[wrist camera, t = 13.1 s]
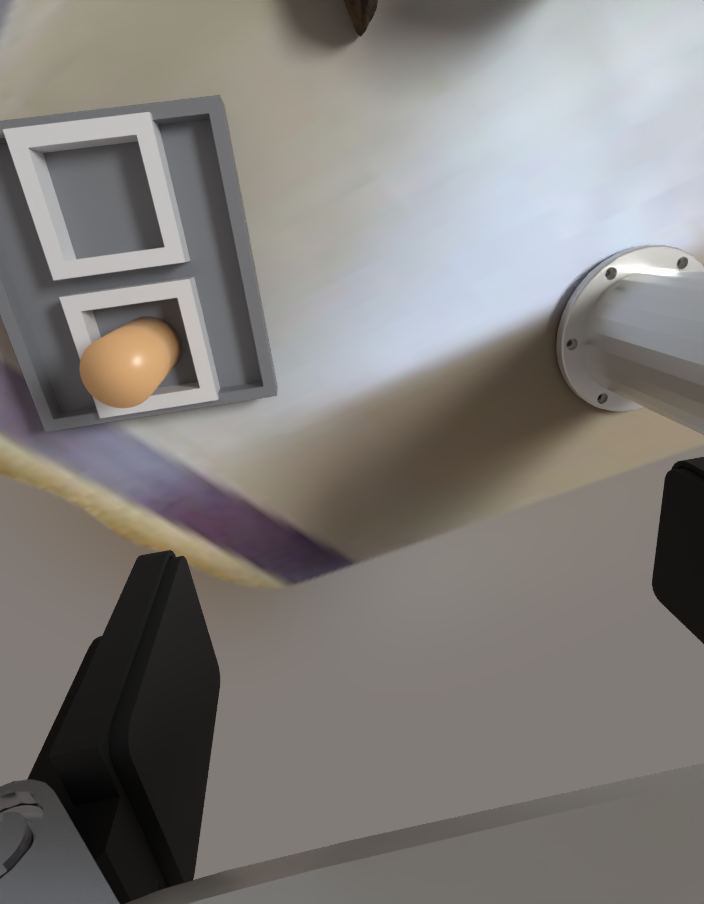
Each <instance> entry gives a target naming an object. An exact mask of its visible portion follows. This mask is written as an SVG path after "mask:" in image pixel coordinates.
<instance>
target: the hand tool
mask: <svg viewBox="0 0 704 904" xmlns="http://www.w3.org/2000/svg"><path fill="white" fill-rule="evenodd" d="M344 1H345V4H346V7H347V9H348V12H349V14H350V16H351V19H352V22H353V25H354V27H355V29H356V31H357V33H358V35H359V36H360V37H361V36H362V35H363V33H364V32H365V31H366V29H367V27H368V24H369V22H370V21H371V19H372V18H373V16H374V13H375V11H376V8H377V2H378V0H344Z"/></svg>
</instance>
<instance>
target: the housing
mask: <svg viewBox="0 0 704 904" xmlns="http://www.w3.org/2000/svg"><path fill="white" fill-rule="evenodd" d="M0 316H1V318H2V321H3V324H4V326H5V329H6V331H7V334H8V337H9V339H10V342H11V344H12V347H13V350H14V352H15V355H16V357H17V360H18V363H19V365H20V368H21V370H22V373H23V376H24V378H25V381H26V383H27V386H28V389H29V391H30V394H31V396H32V399H33V402H34V404H35V407H36V409H37V412H38V415H39V417H40V420H41V422H42V425H43V428H44V430H45V432H50V431H56V430H63V429H69V428H75V427H82V426H88V425H94V424H101V423H107V422H113V421H120V420H126V419H133V418H139V417H145V416H152V415H158V414H164V413H171V412H177V411H183V410H190V409H196V408H202V407H209V406H215V405H221V404H228V403H234V402H240V401H247V400H253V399H259V398H266V397H272V396H277V382H276V377H275V372H274V366H273V361H272V356H271V350H270V345H269V340H268V335H267V329H266V324H265V319H264V313H263V308H262V303H261V297H260V292H259V287H258V282H257V276H256V271H255V266H254V260H253V255H252V250H251V244H250V239H249V234H248V229H247V223H246V218H245V213H244V207H243V202H242V197H241V192H240V186H239V181H238V176H237V170H236V165H235V160H234V154H233V149H232V144H231V139H230V133H229V128H228V123H227V117H226V112H225V107H224V104H223V101H222V99H221V97H220V95H216V96H207V97H199V98H191V99H182V100H174V101H165V102H157V103H148V104H140V105H131V106H123V107H114V108H106V109H97V110H89V111H80V112H72V113H63V114H55V115H47V116H38V117H30V118H21V119H13V120H4V121H0ZM142 316H154V317H158V318H160V319H163V320H165V321H166V322H168V323H169V324H170V325H171V326H172V327H173V328H174V329H175V330H176V332H177V333H178V335H179V337H180V340H181V344H182V353H181V357H180V359H179V361H178V363H177V364H176V365H175V367H174V368H173V369H172V370H171V371H170V373H169V374H168V375H167V376H166V377H165V379H164V380H163V381H162V382H161V384H160V385H159V386H158V387H157V388H156V390H155V391H154V392H153V393H152V394H151V396H150V397H149V398H148V399H147V400H146V401H144V402H143V403H141V404H140V405H137V406H135V407H131V408H115V407H111V406H108V405H105V404H103V403H101V402H100V401H98V400H97V399H95V398H94V397H93V396H92V395H91V394H90V393H89V392H88V390H87V389H86V388H85V386H84V384H83V382H82V379H81V376H80V370H79V368H80V360H81V357H82V354H83V352H84V351H85V349H86V348H87V347H88V346H89V345H90V344H91V343H93V342H94V341H96V340H98V339H100V338H102V337H103V336H105V335H107V334H109V333H111V332H112V331H114V330H116V329H118V328H120V327H121V326H123V325H125V324H127V323H129V322H130V321H132V320H134V319H136V318H138V317H142Z"/></svg>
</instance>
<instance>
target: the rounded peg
mask: <svg viewBox="0 0 704 904" xmlns="http://www.w3.org/2000/svg"><path fill="white" fill-rule="evenodd" d="M181 353H182V344H181V340H180V337H179V335H178V333H177V332H176V330H175V329H174V328H173V327H172V326H171V325H170V324H169V323H168V322H166V321H165V320H163V319H160V318H158V317H154V316H142V317H138V318H136V319H134V320H132V321H130V322H129V323H127V324H125V325H123V326H121V327H120V328H118V329H116V330H114V331H112V332H111V333H109V334H107V335H105V336H103V337H102V338H100V339H98V340H96V341H94V342H93V343H91V344H90V345H89V346H88V347H87V348H86V349H85V351H84V352H83V354H82V357H81V360H80V368H79V370H80V376H81V379H82V382H83V384H84V386H85V388H86V389H87V390H88V392H89V393H90V394H91V395H92V396H93V397H94V398H95V399H97V400H98V401H100V402H101V403H103V404H105V405H108V406H111V407H115V408H131V407H135V406H137V405H140V404H141V403H143V402H144V401H146V400H147V399H148V398H149V397H150V396H151V394H152V393H153V392H154V391H155V390H156V388H157V387H158V386H159V385H160V384H161V382H162V381H163V380H164V379H165V377H166V376H167V375H168V374H169V373H170V371H171V370H172V369H173V368H174V367H175V365H176V364H177V363H178V361H179V359H180V357H181Z"/></svg>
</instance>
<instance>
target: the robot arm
mask: <svg viewBox="0 0 704 904" xmlns="http://www.w3.org/2000/svg"><path fill="white" fill-rule="evenodd" d="M606 271H607V273H606ZM605 273H606V275H605ZM568 341H569V343H568V344H567V342H568ZM556 350H557V359H558V364H559V367H560V370H561V373H562V376H563V378H564V379H565V381H566V383H567V384H568V386H569V387H570V389H571V390H572V391H573V392H574V393H575V394H576V395H577V396H578V397H580V398H582V399H583V400H585V401H586V402H588V403H590V404H591V405H593V406H595V407H598V408H600V409H605V410H609V411H619V412H627V411H633V410H639V409H642V408H648V409H650V410H652V411H654V412H656V413H658V414H660V415H662V416H665V417H667V418H669V419H671V420H673V421H675V422H677V423H679V424H681V425H684V426H686V427H688V428H690V429H692V430H694V431H696V432H698V433H701V434H703V435H704V266H703V264H702V263H701V262H700V261H699V260H697V259H696V258H695V257H694V256H693V255H691V254H690V253H688V252H685V251H683V250H681V249H679V248H675V247H670V246H665V245H645V246H638V247H632V248H630V249H627V250H624V251H621V252H618V253H616V254H615V255H613V256H611V257H609V258H608V259H606V260H604V261H603V262H601V263H600V264H599V265H598V266H597V267H595V268H594V269H593V270H592V271H591V272H589V273H588V275H587V276H586V277H585V278H584V279H583V280H582V281H581V283H580V284H579V285H578V286H577V288H576V289H575V291H574V292H573V294H572V295H571V297H570V299H569V300H568V302H567V305H566V307H565V309H564V311H563V314H562V316H561V320H560V324H559V328H558V332H557V344H556ZM652 586H653V591H654V593H655V595H656V597H657V599H658V600H659V601H660V602H661V603H662V604H663V605H664V606H665V607H666V608H667V609H668V610H669V611H670V612H671V613H672V614H673V615H674V616H675V617H676V618H677V619H679V621H680V622H682V623H683V624H684V625H685V626H686V627H687V628H688V629H689V630H690V631H691V632H692V633H693V634H694V635H695V636H696V637H697V638H698V639H699V640H700V641H701V642H702V643H703V644H704V457H700V458H694V459H689V460H684V461H678V462H677V463H675V464H674V466H673V467H672V470H670V471H669V472H668V473H667V474H666V477H665V482H664V490H663V498H662V506H661V514H660V522H659V530H658V538H657V547H656V554H655V563H654V570H653V578H652ZM219 689H220V672H219V666H218V662H217V659H216V656H215V653H214V649H213V646H212V642H211V639H210V636H209V633H208V630H207V626H206V622H205V619H204V616H203V613H202V609H201V606H200V603H199V600H198V596H197V593H196V589H195V586H194V583H193V579H192V576H191V573H190V570H189V566H188V563H187V560H186V558H185V557H184V556H180V557H176V556H175V554H174V552H173V551H171V550H169V551H163V552H157V553H151V554H146V555H141V556H139V557H138V558H137V560H136V562H135V564H134V566H133V568H132V571H131V573H130V575H129V577H128V580H127V582H126V584H125V586H124V589H123V591H122V593H121V595H120V598H119V600H118V602H117V604H116V606H115V609H114V611H113V613H112V615H111V618H110V620H109V622H108V624H107V627H106V629H105V631H104V633H103V636H100V637H98V638H96V639H95V640H93V642H92V644H91V645H90V647H89V649H88V651H87V653H86V655H85V657H84V659H83V661H82V664H81V666H80V668H79V670H78V672H77V675H76V676H75V679H74V681H73V683H72V685H71V687H70V689H69V692H68V694H67V696H66V698H65V700H64V702H63V704H62V707H61V709H60V711H59V713H58V715H57V717H56V719H55V721H54V724H53V726H52V728H51V730H50V732H49V734H48V736H47V739H46V741H45V743H44V745H43V747H42V750H41V752H40V754H39V756H38V758H37V760H36V762H35V764H34V767H33V768H32V771H31V773H30V775H29V777H28V779H27V780H21V781H13V782H11V783H8V784H5V785H3V786H0V904H704V763H701V764H696V765H691V766H687V767H682V768H678V769H673V770H668V771H663V772H659V773H654V774H650V775H645V776H640V777H636V778H631V779H626V780H622V781H618V782H613V783H608V784H604V785H599V786H594V787H590V788H585V789H580V790H577V791H571V792H567V793H562V794H557V795H553V796H549V797H544V798H539V799H534V800H530V801H526V802H521V803H517V804H512V805H508V806H503V807H499V808H495V809H490V810H485V811H481V812H476V813H472V814H467V815H463V816H458V817H454V818H449V819H445V820H440V821H436V822H431V823H427V824H422V825H418V826H413V827H409V828H404V829H400V830H395V831H391V832H387V833H382V834H377V835H373V836H369V837H364V838H360V839H355V840H351V841H347V842H342V843H338V844H334V845H330V846H326V847H322V848H317V849H313V850H310V851H305V852H301V853H297V854H293V855H289V856H285V857H280V858H276V859H272V860H268V861H264V862H260V863H256V864H252V865H248V866H244V867H239V868H235V869H231V870H227V871H223V872H220V873H217V874H213V875H210V876H206V877H203V878H199V879H196V880H193V878H194V873H195V865H196V858H197V851H198V844H199V836H200V829H201V822H202V814H203V807H204V799H205V792H206V785H207V778H208V770H209V763H210V755H211V748H212V741H213V733H214V726H215V719H216V711H217V704H218V696H219Z"/></svg>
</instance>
